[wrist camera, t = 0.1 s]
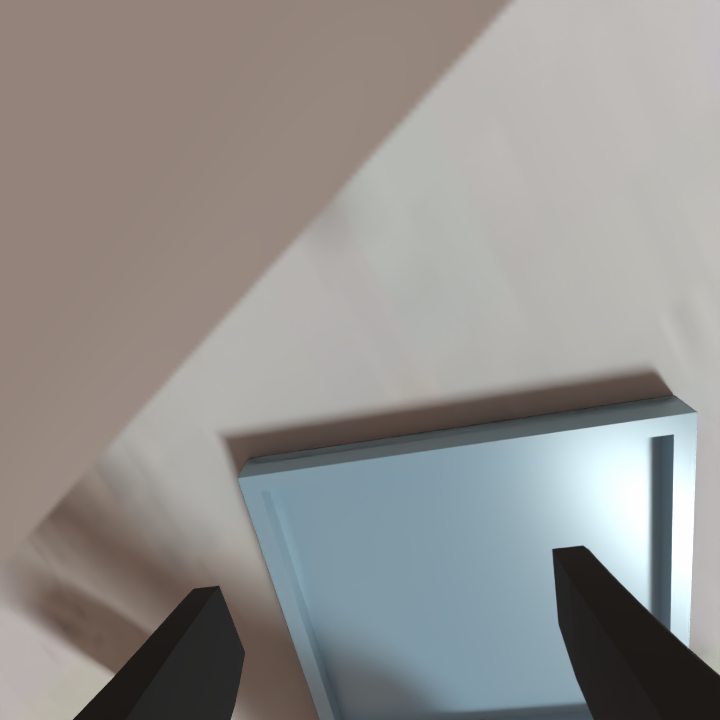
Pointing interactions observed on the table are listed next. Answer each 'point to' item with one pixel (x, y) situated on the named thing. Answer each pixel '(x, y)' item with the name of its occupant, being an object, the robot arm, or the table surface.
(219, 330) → the table surface
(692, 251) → the table surface
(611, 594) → the robot arm
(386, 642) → the tray
